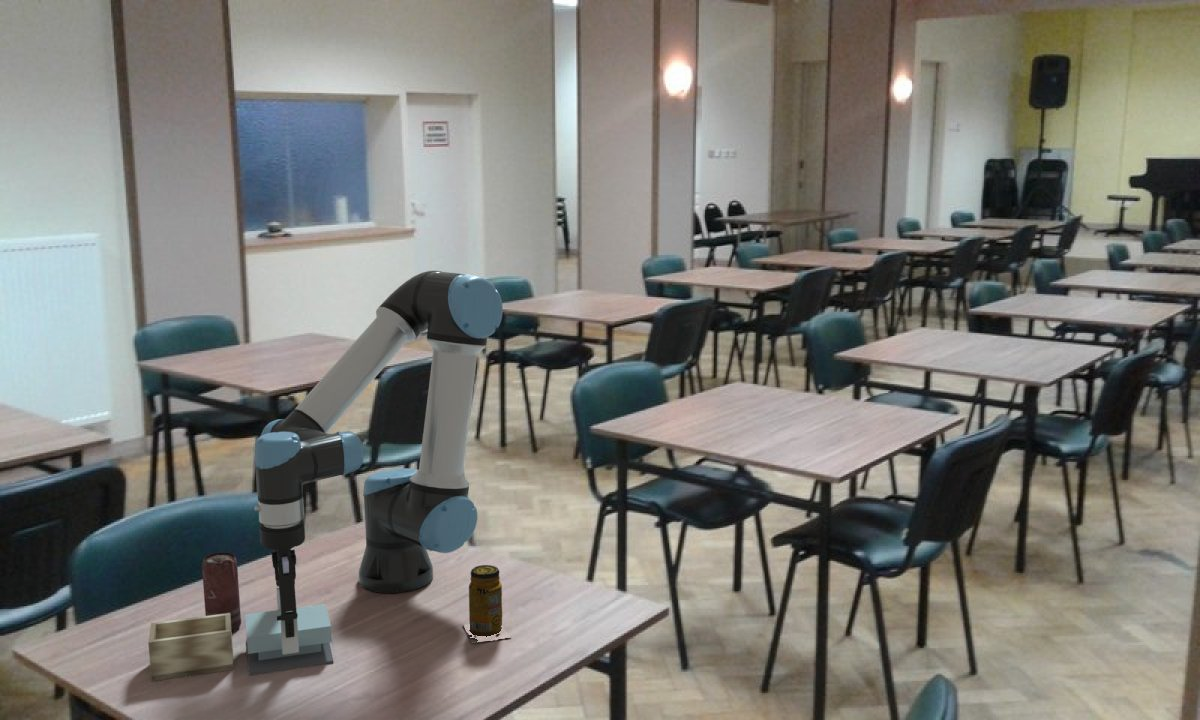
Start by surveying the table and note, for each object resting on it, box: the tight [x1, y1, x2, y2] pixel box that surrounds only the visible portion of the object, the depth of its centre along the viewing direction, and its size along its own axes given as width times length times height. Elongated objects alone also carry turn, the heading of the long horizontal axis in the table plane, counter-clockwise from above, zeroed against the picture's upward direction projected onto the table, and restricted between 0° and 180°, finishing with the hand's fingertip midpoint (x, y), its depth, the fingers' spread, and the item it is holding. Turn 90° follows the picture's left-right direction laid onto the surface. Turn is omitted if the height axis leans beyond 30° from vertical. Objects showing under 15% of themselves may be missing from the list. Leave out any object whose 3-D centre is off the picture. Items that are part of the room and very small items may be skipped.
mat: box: [247, 642, 334, 676], centre depth 192 cm, size 14×14×1 cm
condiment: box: [466, 564, 503, 644], centre depth 199 cm, size 7×8×12 cm
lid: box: [245, 603, 333, 660], centre depth 192 cm, size 14×10×6 cm
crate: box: [147, 613, 234, 682], centre depth 187 cm, size 13×8×7 cm, turn 109°
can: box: [201, 552, 242, 633], centre depth 201 cm, size 6×6×14 cm
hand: (288, 636), depth 192 cm, fingers open, 13 cm apart
